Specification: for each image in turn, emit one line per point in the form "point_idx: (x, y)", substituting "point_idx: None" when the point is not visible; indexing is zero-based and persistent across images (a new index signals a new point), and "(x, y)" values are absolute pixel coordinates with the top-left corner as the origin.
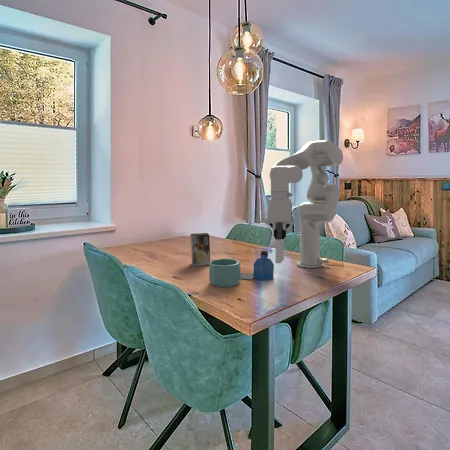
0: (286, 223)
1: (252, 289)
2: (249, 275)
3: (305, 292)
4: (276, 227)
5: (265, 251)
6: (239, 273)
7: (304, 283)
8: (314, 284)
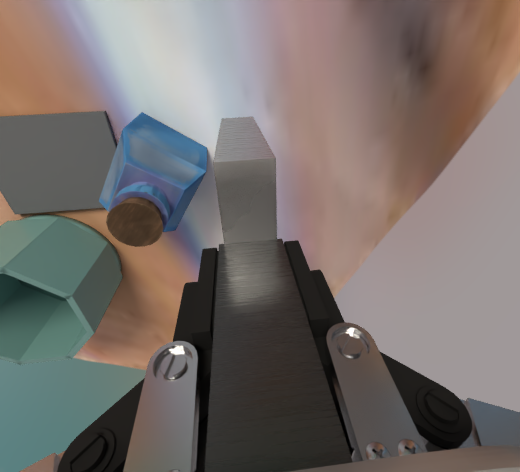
0: (408, 440)
1: (189, 282)
2: (88, 153)
3: (342, 255)
4: (205, 382)
5: (143, 223)
6: (100, 270)
7: (341, 174)
8: (377, 173)
